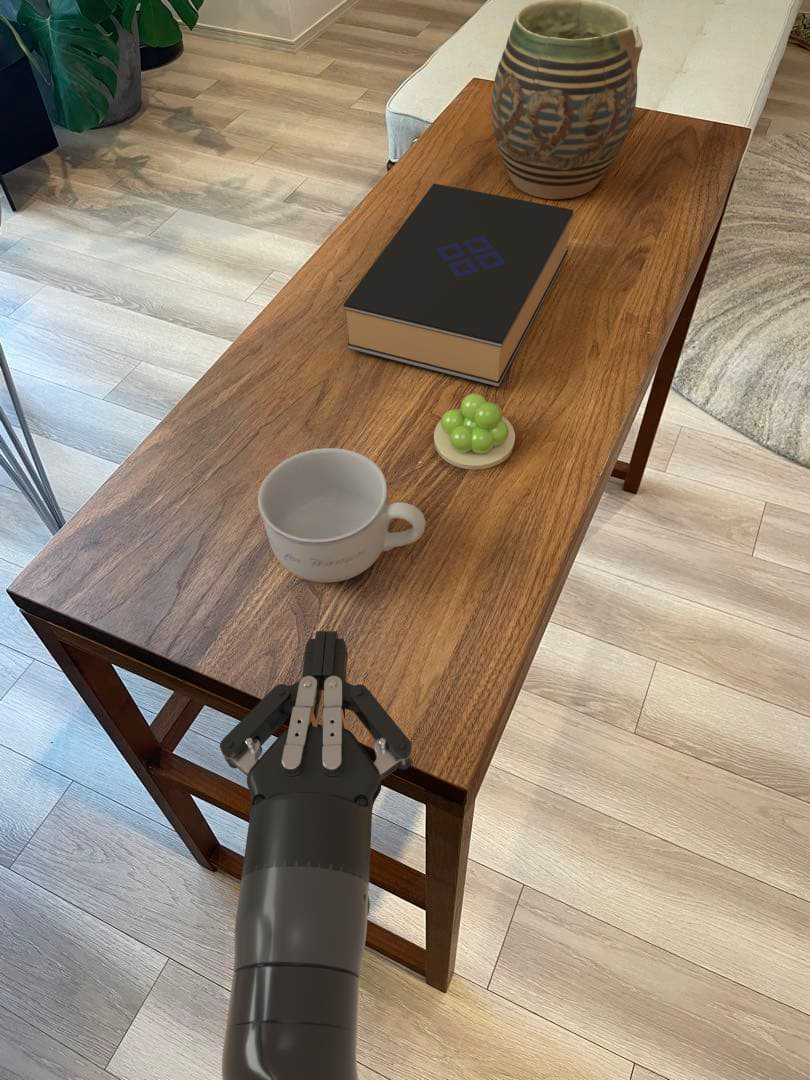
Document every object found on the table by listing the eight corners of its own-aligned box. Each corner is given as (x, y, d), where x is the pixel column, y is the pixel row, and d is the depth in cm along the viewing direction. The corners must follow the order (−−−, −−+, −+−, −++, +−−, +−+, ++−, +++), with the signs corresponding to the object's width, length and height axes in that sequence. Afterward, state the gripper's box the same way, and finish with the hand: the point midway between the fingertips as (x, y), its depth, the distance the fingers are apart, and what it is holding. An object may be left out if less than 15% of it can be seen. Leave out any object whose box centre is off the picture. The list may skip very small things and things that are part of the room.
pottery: (466, 194, 110) (470, 29, 94) (520, 134, 119) (533, -26, 103) (592, 227, 104) (619, 57, 88) (640, 162, 113) (672, -4, 97)
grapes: (446, 477, 79) (446, 437, 75) (424, 420, 84) (423, 380, 80) (525, 460, 80) (530, 420, 76) (500, 405, 85) (503, 364, 81)
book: (348, 354, 91) (342, 303, 86) (433, 232, 105) (433, 182, 99) (498, 393, 86) (501, 342, 81) (567, 260, 100) (574, 209, 95)
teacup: (250, 573, 73) (232, 516, 67) (310, 488, 79) (299, 428, 73) (391, 629, 69) (386, 573, 63) (444, 535, 75) (444, 476, 69)
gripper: (415, 873, 46) (418, 607, 56) (177, 870, 46) (225, 608, 57) (419, 908, 51) (421, 662, 62) (208, 906, 52) (246, 662, 63)
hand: (327, 636), depth 59 cm, fingers closed
